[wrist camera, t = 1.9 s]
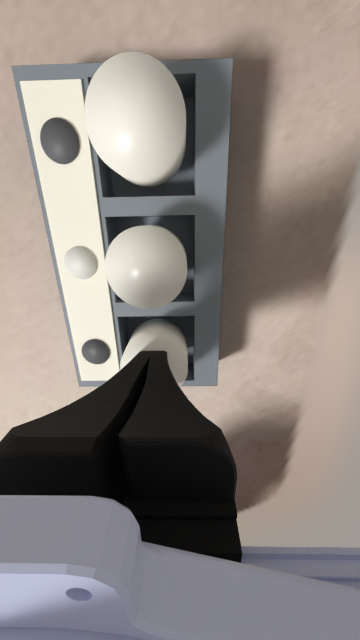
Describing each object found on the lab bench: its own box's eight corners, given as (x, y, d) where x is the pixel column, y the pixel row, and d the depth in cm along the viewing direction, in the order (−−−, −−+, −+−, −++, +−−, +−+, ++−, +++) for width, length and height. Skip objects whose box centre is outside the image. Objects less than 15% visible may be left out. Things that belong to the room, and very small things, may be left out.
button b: (187, 292, 13) (187, 308, 11) (124, 293, 13) (110, 309, 11) (186, 224, 12) (187, 224, 9) (116, 225, 12) (99, 226, 9)
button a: (187, 368, 15) (188, 396, 13) (133, 368, 15) (123, 396, 13) (187, 318, 14) (187, 338, 11) (128, 318, 14) (116, 338, 12)
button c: (186, 186, 11) (186, 176, 9) (112, 188, 11) (92, 179, 9) (185, 92, 10) (185, 49, 7) (102, 94, 10) (76, 53, 7)
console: (212, 363, 17) (217, 387, 15) (93, 364, 17) (78, 388, 15) (223, 91, 11) (234, 54, 9) (45, 97, 12) (8, 62, 9)
